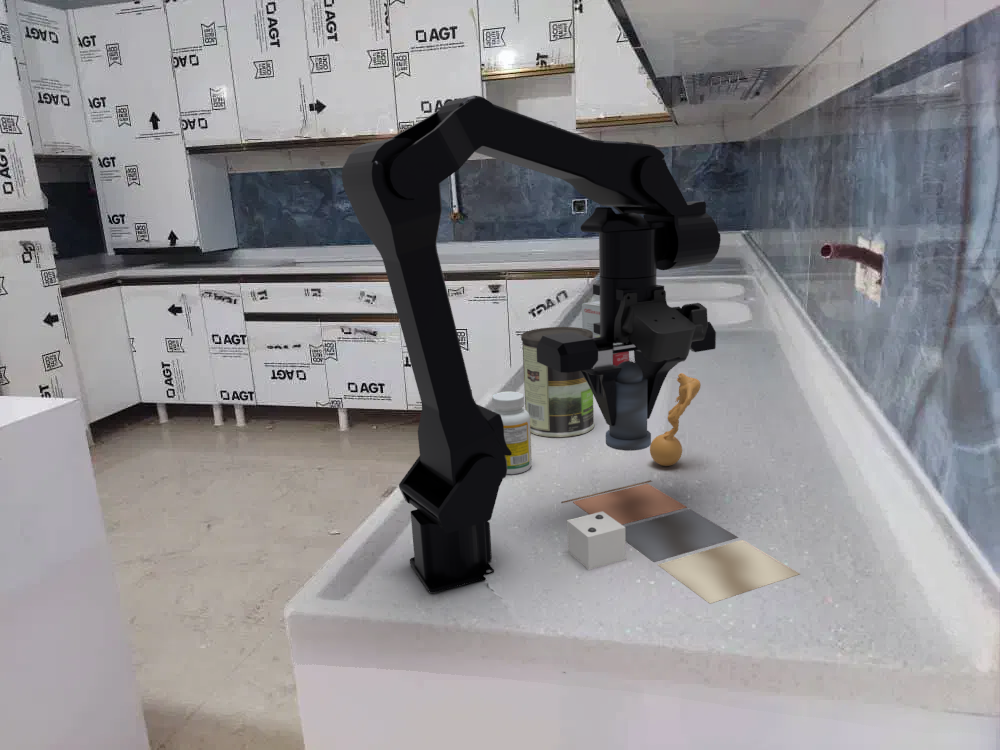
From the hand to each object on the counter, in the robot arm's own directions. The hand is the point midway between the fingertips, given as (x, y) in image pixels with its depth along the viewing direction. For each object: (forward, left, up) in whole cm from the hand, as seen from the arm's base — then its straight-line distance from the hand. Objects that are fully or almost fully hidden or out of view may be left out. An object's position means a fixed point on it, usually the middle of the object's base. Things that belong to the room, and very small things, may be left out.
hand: (628, 421), depth 79 cm
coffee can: (+7, +29, -10) cm, 32 cm away
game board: (0, -8, -10) cm, 13 cm away
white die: (-9, -8, -10) cm, 16 cm away
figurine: (+12, +8, -10) cm, 18 cm away
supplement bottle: (-6, +18, -10) cm, 22 cm away
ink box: (+33, +58, -11) cm, 68 cm away
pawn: (0, 0, -2) cm, 2 cm away
